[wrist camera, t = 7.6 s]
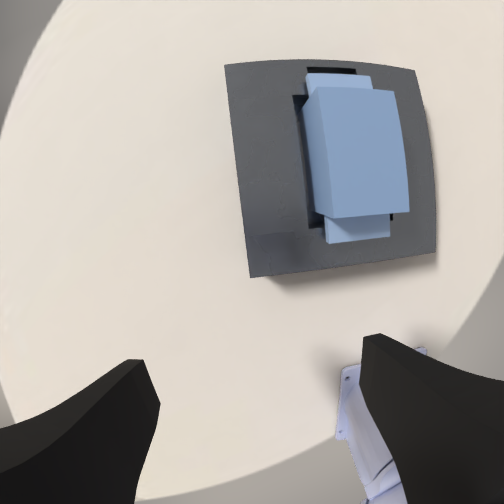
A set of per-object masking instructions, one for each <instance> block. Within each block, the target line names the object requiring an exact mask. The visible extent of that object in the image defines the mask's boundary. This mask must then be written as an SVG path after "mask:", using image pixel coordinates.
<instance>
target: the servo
mask: <svg viewBox="0 0 504 504" xmlns="http://www.w3.org/2000/svg"><path fill="white" fill-rule="evenodd" d="M305 78H306V83H307V89H308V94H309V99H308V100H307V102H306V103H305V104H304V106H303V107H302V109H301V110H300V112H299V113H298V119H299V125H300V132H301V139H302V147H303V154H304V162H305V171H306V179H307V189H308V198H309V208H310V210H311V211H314V212H317V213H320V214H323V215H324V220H325V233H326V242H327V243H329V244H332V243H340V242H348V241H357V240H365V239H373V238H382V237H390V214H389V213H401V212H409V193H408V180H407V169H406V160H405V152H404V145H403V138H402V131H401V125H400V120H399V114H398V109H397V104H396V99H395V95H394V91H388V90H378V89H373V87H372V82H371V78H370V76H363V75H350V74H328V73H307V75H306V77H305Z"/></svg>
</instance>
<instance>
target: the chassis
mask: <svg viewBox="0 0 504 504" xmlns="http://www.w3.org/2000/svg"><path fill="white" fill-rule="evenodd" d="M224 68H225V76H226V85H227V93H228V102H229V110H230V119H231V127H232V135H233V144H234V152H235V160H236V168H237V177H238V185H239V193H240V201H241V209H242V217H243V225H244V233H245V241H246V249H247V257H248V265H249V273H250V278H255V277H264V276H272V275H280V274H288V273H296V272H304V271H312V270H319V269H327V268H334V267H341V266H348V265H355V264H362V263H369V262H376V261H383V260H389V259H396V258H402V257H409V256H415V255H421V254H427V253H433V252H436V202H435V184H434V172H433V162H432V154H431V146H430V139H429V133H428V127H427V121H426V116H425V111H424V106H423V101H422V97H421V93H420V89H419V85H418V81H417V77H416V73H415V70H410V69H405V68H399V67H393V66H387V65H380V64H372V63H363V62H353V61H339V60H312V59H296V60H269V61H255V62H245V63H235V64H227V65H224ZM307 73H328V74H350V75H363V76H370V78H371V82H372V87H373V89H378V90H388V91H394V95H395V99H396V104H397V109H398V114H399V120H400V125H401V131H402V138H403V145H404V152H405V160H406V169H407V180H408V193H409V212H401V213H389V214H390V237H382V238H373V239H365V240H357V241H348V242H340V243H332V244H329V243H327V242H326V233H325V220H324V215H323V214H320V213H317V212H314V211H311V210H310V208H309V198H308V189H307V179H306V171H305V162H304V154H303V147H302V139H301V132H300V125H299V119H298V113H299V112H300V110H301V109H302V107H303V106H304V104H305V103H306V102H307V100H308V99H309V94H308V89H307V83H306V78H305V77H306V75H307Z"/></svg>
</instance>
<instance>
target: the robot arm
mask: <svg viewBox="0 0 504 504" xmlns="http://www.w3.org/2000/svg"><path fill="white" fill-rule="evenodd" d="M426 353H427V350H426V349H425V348H424V347H421V348H417V349H412V348H410V347H408V346H406V345H404V344H402V343H400V342H398V341H396V340H394V339H392V338H390V337H388V336H386V335H383V334H381V333H379V334H375V335H370V336H366V337H363V348H362V359H361V364H358V365H353V366H349V367H346V368H344V369H343V370H342V372H341V384H340V396H339V407H338V416H337V425H336V433H335V438H336V440H343V439H346V440H347V442H348V446H349V448H350V451H351V454H352V457H353V460H354V463H355V466H356V468H357V471H358V474H359V477H360V480H361V482H362V483H363V485H364V486H365V487H364V488H365V491H366V494H367V498H365V499H364V500H363V501H362V502H361V503H360V504H504V381H501V380H495V379H491V378H486V377H483V376H479V375H475V374H472V373H469V372H465V371H462V370H460V369H457V368H455V367H452V366H449V365H447V364H444V363H442V362H440V361H437V360H435V359H433V358H431V357H429V356H426ZM348 376H349V377H348ZM346 377H348V378H346ZM160 404H161V403H160V401H159V399H158V396H157V394H156V391H155V389H154V386H153V384H152V381H151V379H150V376H149V373H148V371H147V368H146V365H145V363H144V360H138V359H128V360H126V361H124V362H122V363H121V364H119V365H118V366H116V367H115V368H113V369H112V370H110V371H109V372H107V373H106V374H105V375H103V376H102V377H100V378H99V379H97V380H96V381H95V382H93V383H92V384H90V385H89V386H87V387H86V388H85V389H83V390H82V391H80V392H78V393H77V394H75V395H74V396H72V397H70V398H69V399H67V400H66V401H64V402H62V403H61V404H59V405H57V406H56V407H54V408H52V409H50V410H48V411H46V412H44V413H42V414H40V415H38V416H35V417H33V418H31V419H28V420H25V421H22V422H20V423H17V424H14V425H11V426H8V427H4V428H1V429H0V504H134V501H135V495H136V489H137V484H138V481H139V477H140V474H141V471H142V468H143V465H144V462H145V459H146V456H147V453H148V450H149V447H150V444H151V441H152V439H153V436H154V433H155V429H156V426H157V421H158V416H159V410H160Z"/></svg>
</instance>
